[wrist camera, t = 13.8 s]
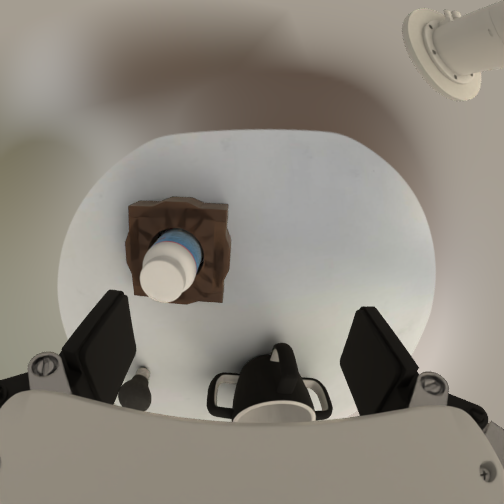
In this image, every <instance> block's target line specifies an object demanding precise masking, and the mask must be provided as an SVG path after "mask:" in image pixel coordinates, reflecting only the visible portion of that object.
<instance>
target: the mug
mask: <svg viewBox="0 0 504 504" xmlns="http://www.w3.org/2000/svg"><path fill="white" fill-rule="evenodd" d="M222 383H231V384H236V389H235V394H234V399H233V407H232V408H224V407H218V406H217V392H218V387H219V385H220V384H222ZM307 388H310V389H312V390H313V391H314V392H315V393H316V394H317V396H318V398H319V401H320V403H321V407H322V411H315V410H314V406H313V403H312V400H311V398H310V395H309V392H308V390H307ZM207 409H208V411H209V413H210V414H211V415H213V416H216V417H222V418H228V419H232V422H244V423H289V422H309V421H317V420H324V419H327V418H329V417H330V416H331V414H332V410H333V407H332V403H331V400H330V397H329V395H328V392H327V390H326V388H325V387H324V386H323V384H322V383H321V382H320V381H318V380H316V379H314V378H303V377H301V376H300V374H299V372H298V368H297V363H296V359H295V356H294V353H293V350H292V348H291V347H290V346H289V345H288V344H286V343H277V344H275V345H274V347H273V349H272V352H271V355H262V356H258V357H256V358H253V359H252V360H250V361H249V362H247V363H246V364H245V366H244V367H243V368H242V370H241V372H240V374H239V373H219V374H217V375H216V376H215V377H214V378H213V380H212V381H211V383H210V385H209V388H208V395H207Z"/></svg>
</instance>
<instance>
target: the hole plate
mask: <svg viewBox="0 0 504 504" xmlns="http://www.w3.org/2000/svg"><path fill="white" fill-rule="evenodd" d="M128 209H129V233H128V236H127V239H126V242H125V247H126V260H127V264H128V266H129V269H130V271H131V273H132V278H133V288H134V295H138V296H147V297H149V296H148V295H147V294H146V293H145V292H144V291H143V289H142V287H141V284H140V273H141V271H142V269H143V260H144V257H145V255H146V253H147V252H148V250H149V249H150V248H151V247H152V246H153V244H154V243H155V242H156V241H157V238H158V236H159V233H160V231H162V230H165V229H168V228H181V229H183V230H185V231H188V232H190V233H192V234H193V235H194V236H195V238H196V239H197V240H198V241H199V242H200V244H201V247H202V249H203V252H204V260H203V262H202V263H200V265H199V267H198V270H197V273H196V276H195V279H194V281H193V283H192V284H191V286H190V287H189V288H188V289H187V290H185V291H184V292H182V293H181V295H180V296H179V297H178V298H177V299H176V300H174V301H171V302H167V303H175V304H190V303H194V302H197V301H203V302H218V303H222V302H223V292H224V279H225V277H226V275H227V273H228V271H229V266H230V253H231V237H230V235H229V232H228V229H227V220H228V204H216V203H204V202H201V201H199V200H197V199H195V198H192V197H170V198H168V199H165V200H162V201H138V202H136V203H133V204H131V205H129V206H128Z"/></svg>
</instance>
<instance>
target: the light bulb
mask: <svg viewBox="0 0 504 504" xmlns="http://www.w3.org/2000/svg"><path fill="white" fill-rule="evenodd" d="M149 377H150V372H149V371H148V370H147V369H146V368H139V369H138V370H137V372H136V374H135V376H134V377H133V378H132V379H131V380H129V381H127V382H125V383H124V384H123V385H122V386H121V388H120V390H119V393H118V398H119V402H120V404H121V405H122V407H125V408H130V409H135V410H140V411H146V410H147V409H148V408H149V406H150V404H151V393H150V390H149V387H148V380H149Z"/></svg>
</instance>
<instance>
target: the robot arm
mask: <svg viewBox="0 0 504 504" xmlns="http://www.w3.org/2000/svg"><path fill="white" fill-rule="evenodd" d="M451 14H452V18H453V19H452V18H451ZM444 15H445V20H442V21H439V20H432V21H429V22H428V23H426V24H425V25H424V27H423V32H422V36H423V41H424V45H425V48H426V50H427V53H428V54H429V56H430V58H431V60H432V61H433V63H434V64H435V66H436V67H437V68H438V69H439V71H440V72H441V73H442V74H443V75H444V76H445V77H447V78H448V79H449V80H451V81H452V82H454V83H457V84H468V83H470V82H471V81H472V80H473V79H474V76H475V73H478V72H483V71H488V70H494V69H501V68H504V0H503V1H500V2H498V3H494V4H492V5H489V6H487V7H484V8H482V9H479V10H476V11H474V12H471V13H469V14H466V15H464V16H462V17H461V14H460V13H459V12H458V11H452V12H450V11H449V10H446V9H445V10H444ZM135 354H136V344H135V339H134V333H133V328H132V322H131V316H130V309H129V302H128V297H127V295H124V293H123V292H122V291H117V290H108V291H107V293H106V294H105V295H104V296H103V297H102V299H101V300H100V301H99V302H98V303H97V304H96V306H95V307H94V308H93V309H92V311H91V312H90V313H89V314H88V315H87V317H86V318H85V319H84V320H83V322H82V323H81V324H80V325H79V327H78V328H77V329H76V330H75V332H74V333H73V334H72V336H71V337H70V338H69V340H68V341H67V342H66V343H65V345H64V346H63V347H62V351H61V353H60V354H59V355H58V354H56V353H54V352H42V353H39V354H37V355H36V356H34V357H33V358H32V359H31V360H30V362H29V364H28V372H27V373H24V374H20V375H17V376H14V377H10V378H7V379H3V380H0V504H504V429H502V428H501V427H499V426H498V425H497V424H495V423H494V422H492V421H491V422H490V423H488V416H487V413H486V412H485V410H484V409H483V408H482V407H480V406H478V405H476V404H473V403H471V402H468V401H466V400H463V399H461V398H458V397H456V396H453V395H451V394H449V393H448V392H449V386H448V383H447V381H446V380H445V379H444V378H443V377H442V376H441V375H439V374H437V373H434V372H423V373H421V374H420V375H419V374H418V372H417V370H418V368H419V367H418V366H417V364H416V363H415V361H414V360H413V358H412V357H411V355H410V354H409V353H408V351H407V350H406V348H405V347H404V345H403V344H402V343H401V341H400V340H399V339H398V337H397V336H396V334H395V333H394V332H393V330H392V329H391V328H390V326H389V325H388V323H387V322H386V321H385V319H384V318H383V317H382V315H381V314H380V313H379V311H378V310H377V309H376V308H375V307H361V308H360V310H357V311H356V313H355V316H354V319H353V323H352V326H351V329H350V332H349V335H348V338H347V341H346V344H345V347H344V350H343V353H342V355H341V358H340V366H341V369H342V371H343V374H344V376H345V379H346V381H347V384H348V386H349V389H350V391H351V394H352V396H353V399H354V401H355V404H356V407H357V409H358V412H359V414H360V416H357V417H350V418H342V419H333V420H322V421H309V422H289V423H244V422H223V421H210V420H200V419H190V418H182V417H175V416H168V415H162V414H156V413H150V412H145V411H140V410H135V409H130V408H125V407H120V406H116V405H113V404H114V402H115V400H116V397H117V395H118V392H119V390H120V388H121V385H122V383H123V381H124V379H125V376H126V374H127V372H128V370H129V367H130V365H131V363H132V361H133V359H134V356H135Z"/></svg>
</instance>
